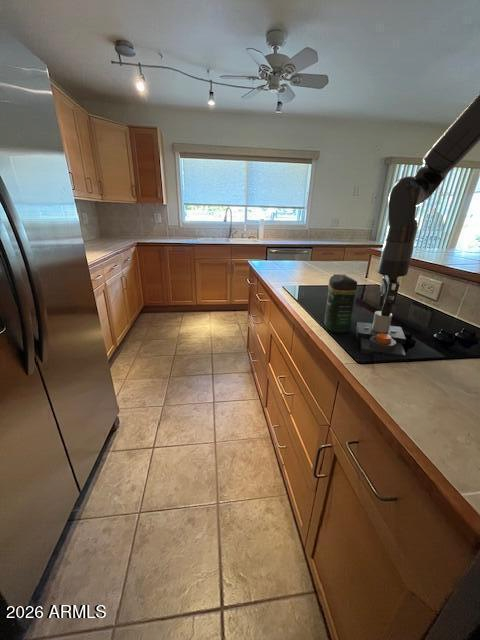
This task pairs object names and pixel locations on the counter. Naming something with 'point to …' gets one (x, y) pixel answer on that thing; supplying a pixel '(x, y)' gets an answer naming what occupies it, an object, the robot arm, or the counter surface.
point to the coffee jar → (340, 303)
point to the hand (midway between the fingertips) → (383, 310)
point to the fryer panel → (366, 332)
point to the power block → (381, 347)
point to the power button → (383, 338)
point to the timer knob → (381, 322)
